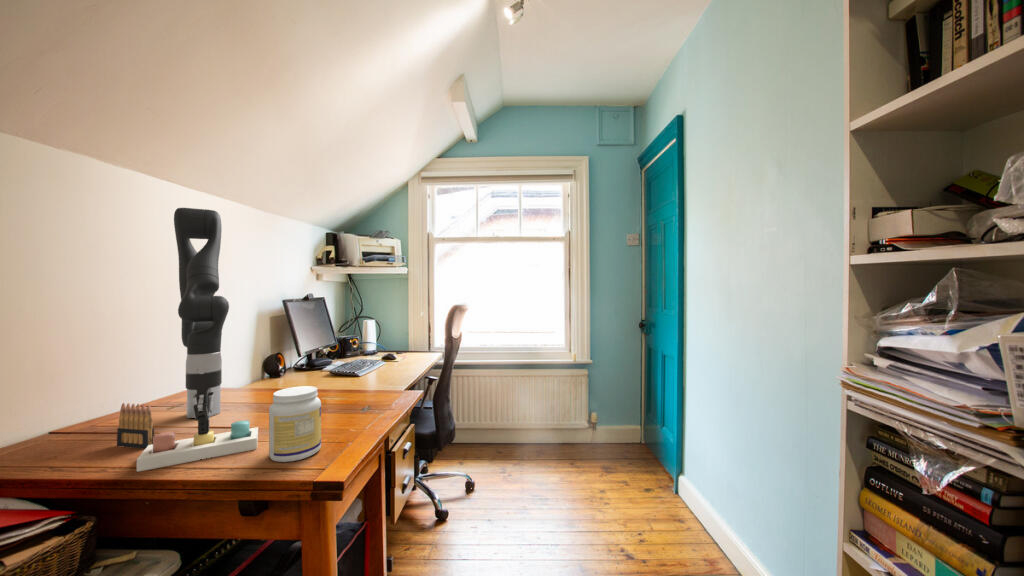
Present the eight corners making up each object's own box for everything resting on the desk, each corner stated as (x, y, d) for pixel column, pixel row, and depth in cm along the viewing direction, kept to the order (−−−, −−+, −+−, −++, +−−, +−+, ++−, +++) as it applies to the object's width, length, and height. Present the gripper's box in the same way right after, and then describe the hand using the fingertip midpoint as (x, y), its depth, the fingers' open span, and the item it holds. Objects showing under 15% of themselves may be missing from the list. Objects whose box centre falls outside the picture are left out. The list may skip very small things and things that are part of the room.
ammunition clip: (116, 446, 105) (116, 403, 105) (124, 443, 107) (124, 401, 107) (147, 449, 103) (147, 405, 103) (154, 446, 105) (154, 403, 105)
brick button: (155, 449, 97) (155, 433, 97) (176, 446, 99) (176, 430, 99) (150, 455, 93) (150, 439, 94) (173, 452, 96) (173, 435, 96)
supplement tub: (330, 450, 102) (330, 388, 102) (284, 468, 92) (285, 399, 92) (305, 440, 108) (305, 383, 109) (259, 457, 98) (259, 392, 98)
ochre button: (195, 447, 101) (195, 432, 101) (214, 444, 104) (214, 429, 104) (192, 453, 98) (192, 437, 98) (212, 449, 100) (212, 434, 100)
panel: (148, 456, 98) (148, 445, 98) (258, 437, 111) (258, 427, 111) (136, 471, 90) (136, 459, 90) (256, 449, 103) (256, 438, 103)
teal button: (231, 436, 106) (231, 422, 106) (249, 433, 108) (249, 419, 108) (230, 442, 102) (230, 426, 102) (248, 438, 104) (249, 423, 104)
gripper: (190, 366, 104) (190, 428, 104) (180, 375, 93) (180, 445, 93) (224, 364, 108) (224, 423, 108) (218, 372, 97) (218, 438, 97)
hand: (203, 433), depth 101 cm, fingers closed
